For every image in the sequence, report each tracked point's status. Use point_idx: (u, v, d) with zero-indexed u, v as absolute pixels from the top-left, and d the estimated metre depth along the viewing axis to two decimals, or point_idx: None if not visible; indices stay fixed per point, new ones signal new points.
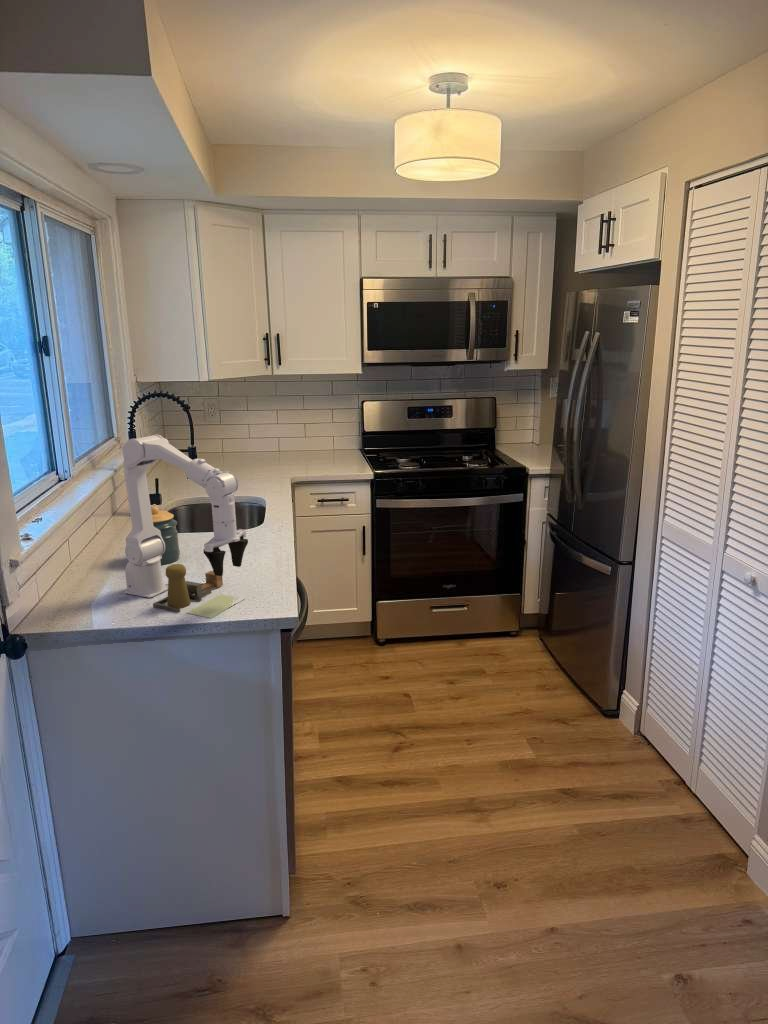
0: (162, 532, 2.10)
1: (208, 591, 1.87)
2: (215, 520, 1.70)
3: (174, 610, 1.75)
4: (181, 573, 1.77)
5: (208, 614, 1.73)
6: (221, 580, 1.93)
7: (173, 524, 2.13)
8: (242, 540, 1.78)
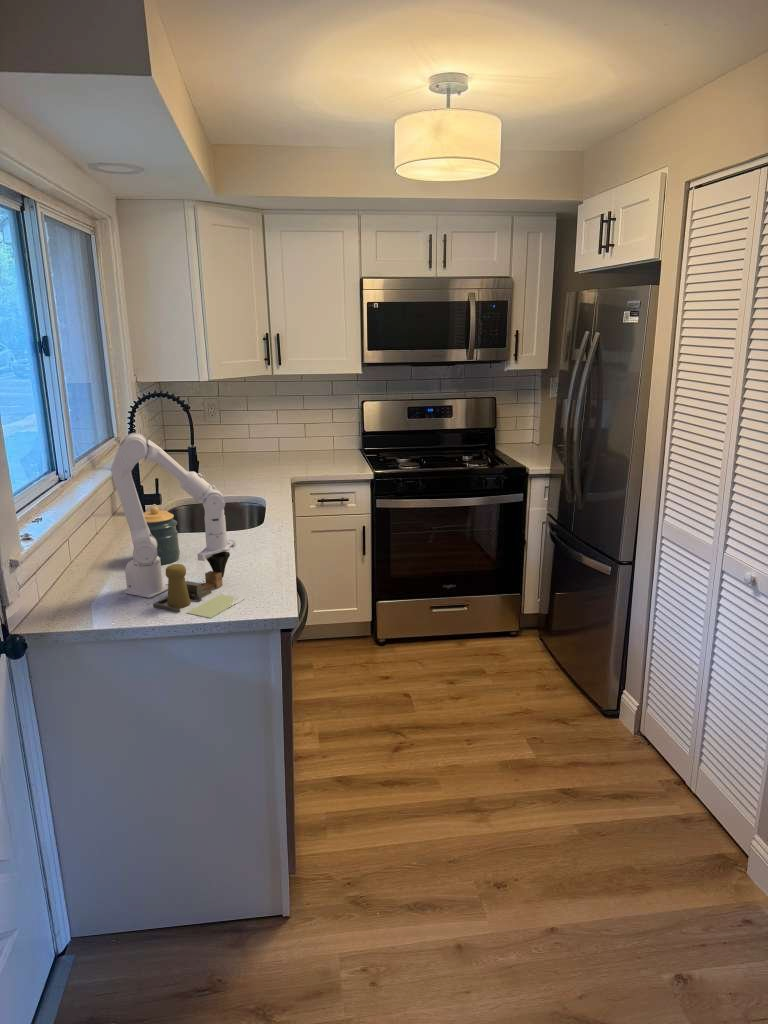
0: (162, 532, 2.10)
1: (208, 591, 1.87)
2: (214, 532, 1.89)
3: (174, 610, 1.75)
4: (181, 573, 1.77)
5: (208, 614, 1.73)
6: (221, 580, 1.93)
7: (173, 524, 2.13)
8: None
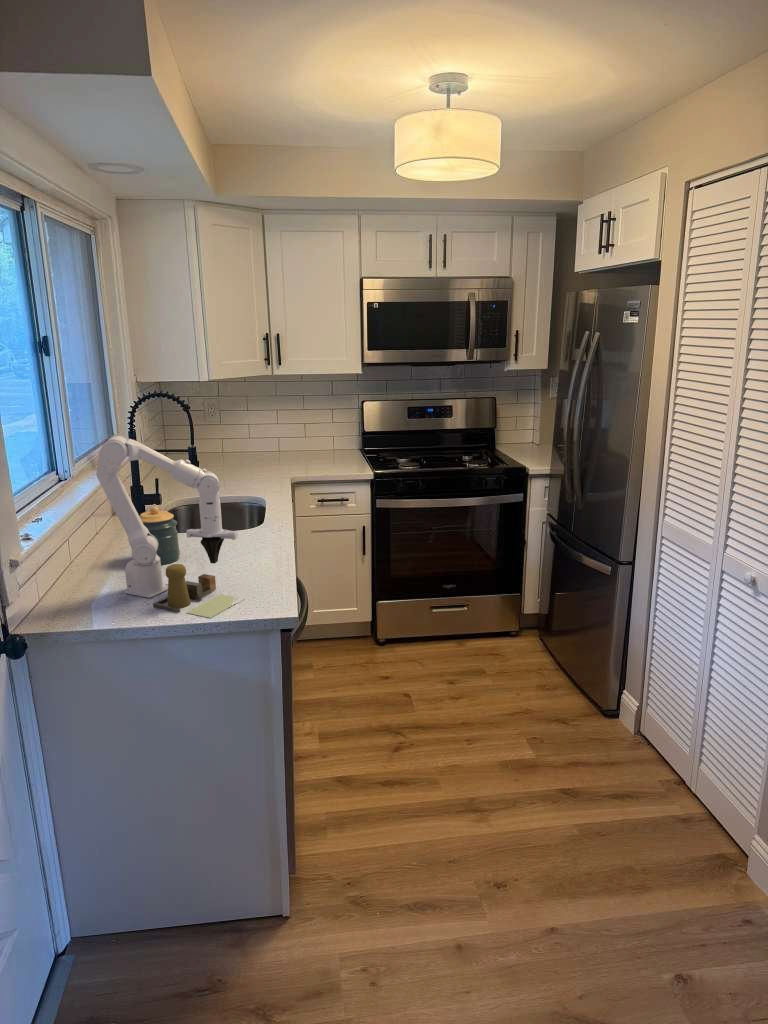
0: (162, 532, 2.10)
1: (208, 591, 1.87)
2: (208, 516, 1.86)
3: (174, 610, 1.75)
4: (181, 573, 1.77)
5: (208, 614, 1.73)
6: (214, 583, 1.90)
7: (173, 524, 2.13)
8: None
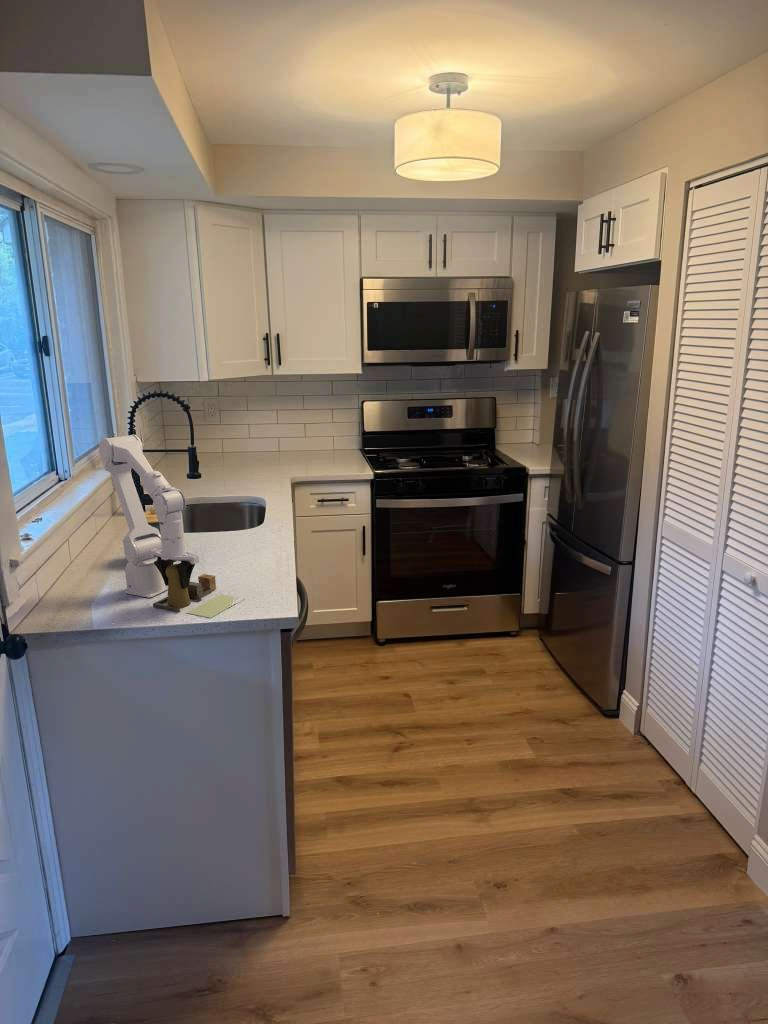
0: None
1: (208, 591, 1.87)
2: (161, 536, 1.74)
3: (174, 610, 1.75)
4: None
5: (208, 614, 1.73)
6: (214, 583, 1.90)
7: None
8: (183, 564, 1.74)
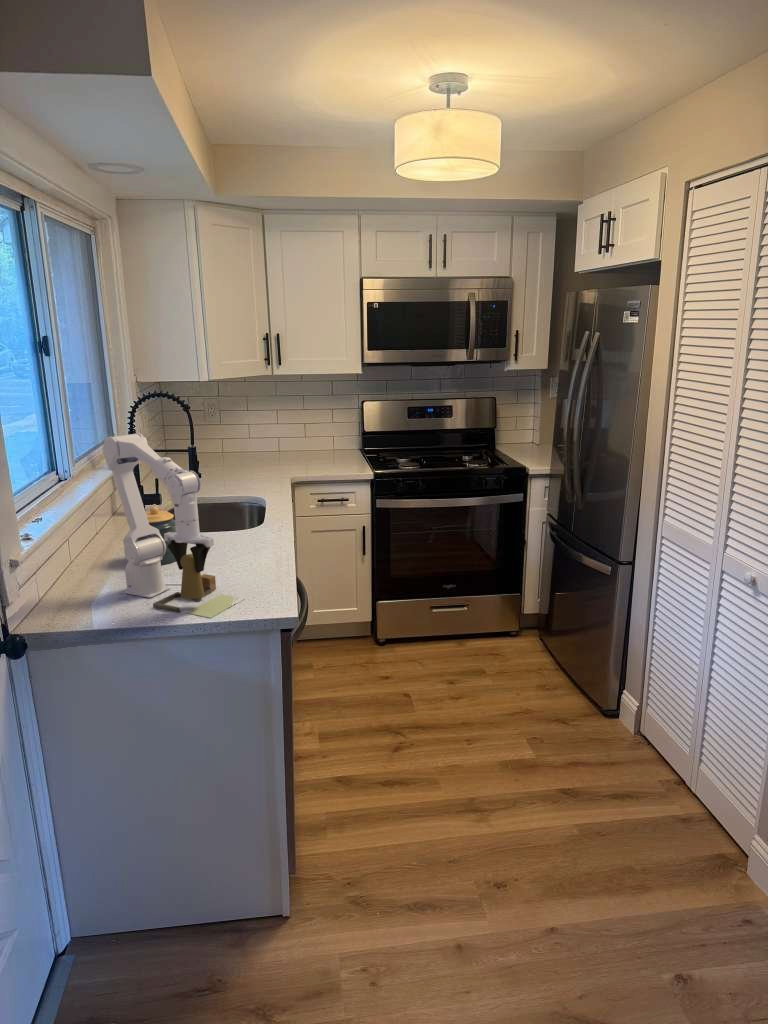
0: (162, 532, 2.10)
1: (208, 591, 1.87)
2: (176, 519, 1.70)
3: (174, 610, 1.75)
4: None
5: (208, 614, 1.73)
6: (214, 583, 1.90)
7: (173, 524, 2.13)
8: (198, 547, 1.71)
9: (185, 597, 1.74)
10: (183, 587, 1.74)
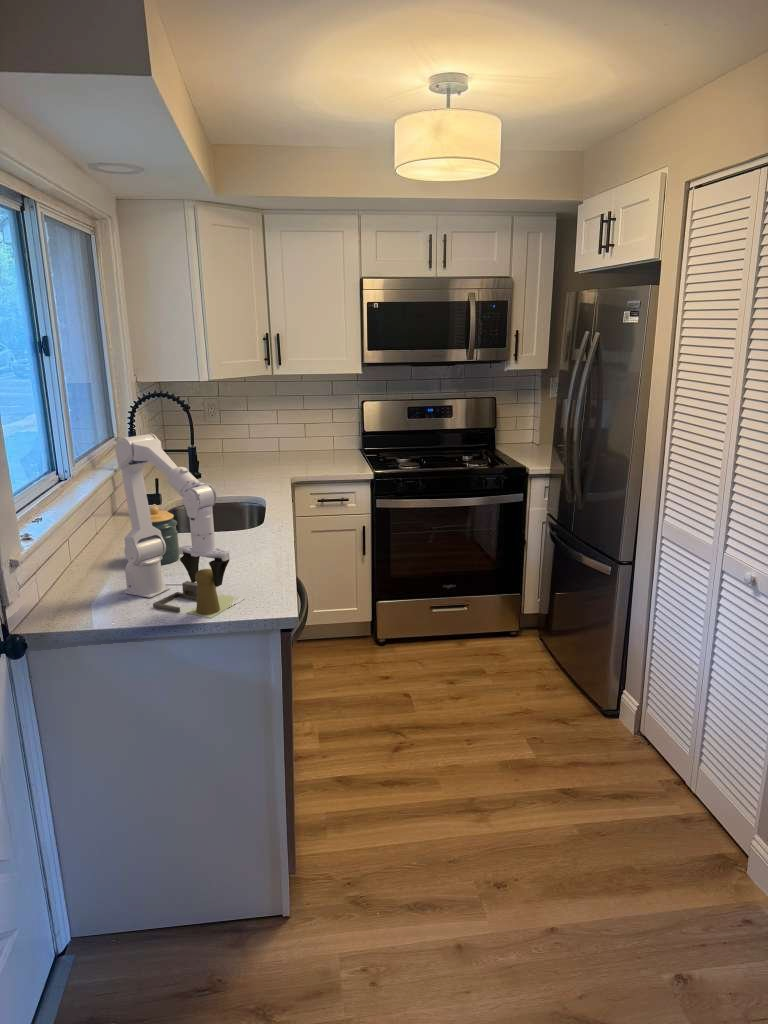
0: (162, 532, 2.10)
1: None
2: (192, 532, 1.69)
3: (174, 610, 1.75)
4: (211, 579, 1.72)
5: None
6: None
7: (173, 524, 2.13)
8: (214, 561, 1.69)
9: (201, 613, 1.73)
10: (199, 603, 1.73)
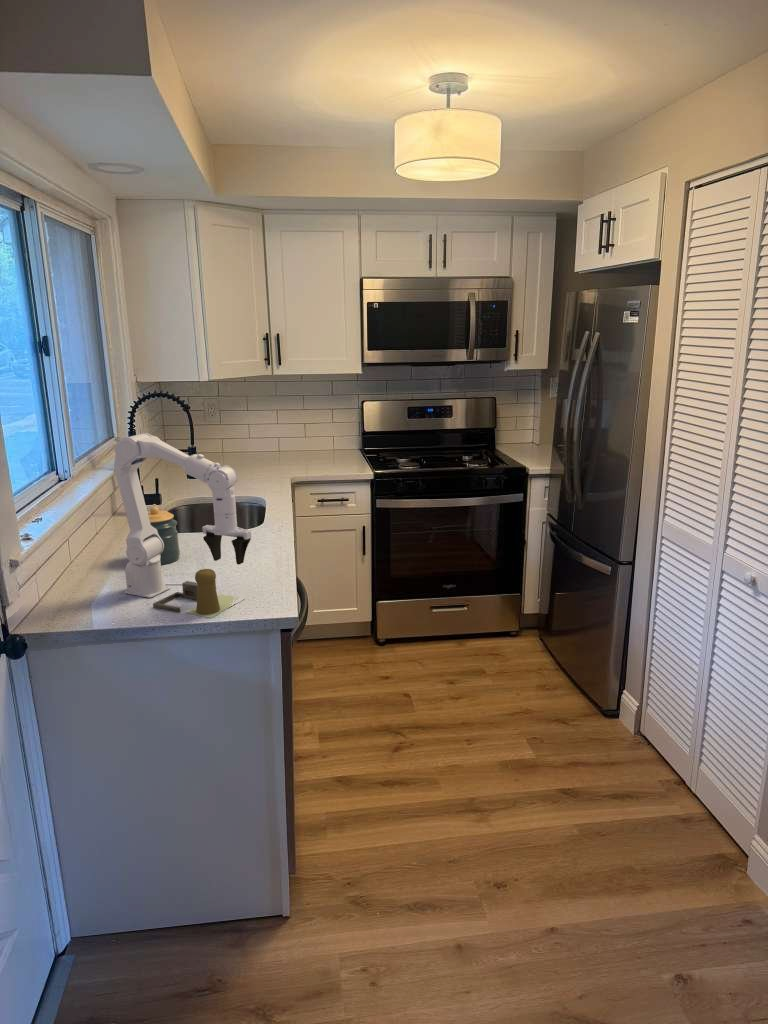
0: (162, 532, 2.10)
1: None
2: (218, 513, 1.76)
3: (174, 610, 1.75)
4: (211, 579, 1.72)
5: None
6: (214, 583, 1.90)
7: (173, 524, 2.13)
8: (236, 539, 1.77)
9: (201, 613, 1.73)
10: (199, 603, 1.73)
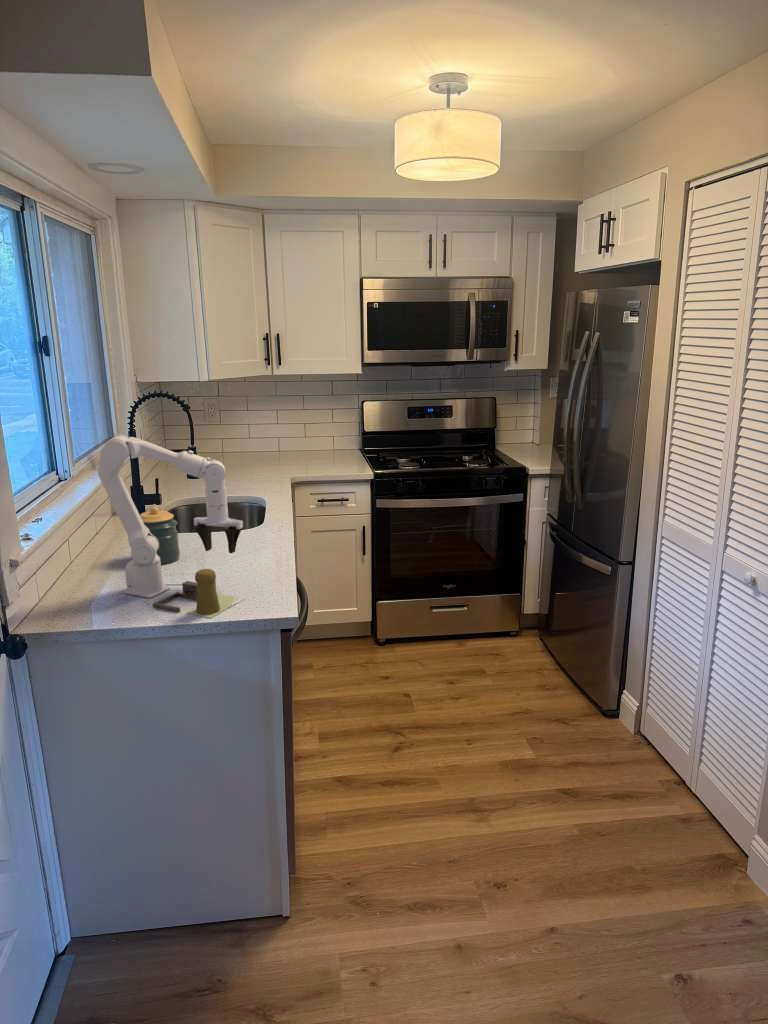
0: (162, 532, 2.10)
1: None
2: (214, 504, 1.85)
3: (174, 610, 1.75)
4: (211, 579, 1.72)
5: None
6: (214, 583, 1.90)
7: (173, 524, 2.13)
8: (229, 529, 1.86)
9: (201, 613, 1.73)
10: (199, 603, 1.73)
